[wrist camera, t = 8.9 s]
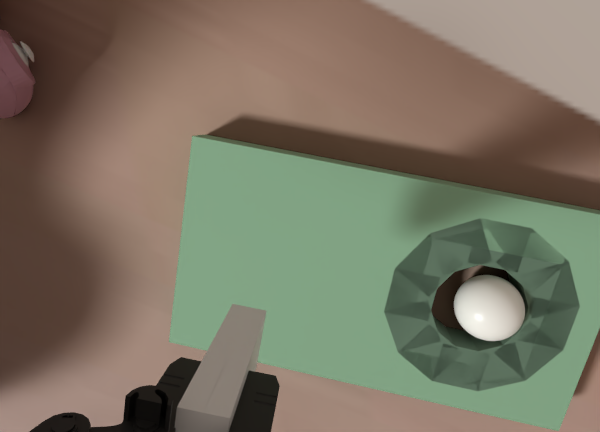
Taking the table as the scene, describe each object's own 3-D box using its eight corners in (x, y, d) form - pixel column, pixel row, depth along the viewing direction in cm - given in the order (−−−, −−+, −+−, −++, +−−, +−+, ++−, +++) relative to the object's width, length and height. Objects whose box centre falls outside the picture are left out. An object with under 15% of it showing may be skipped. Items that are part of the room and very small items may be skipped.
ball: (479, 316, 28) (525, 353, 25) (433, 317, 27) (475, 356, 23) (499, 264, 27) (551, 296, 24) (452, 262, 26) (499, 295, 22)
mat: (183, 324, 30) (168, 341, 28) (206, 134, 27) (192, 136, 24) (540, 404, 29) (558, 430, 26) (613, 212, 25) (641, 222, 23)
